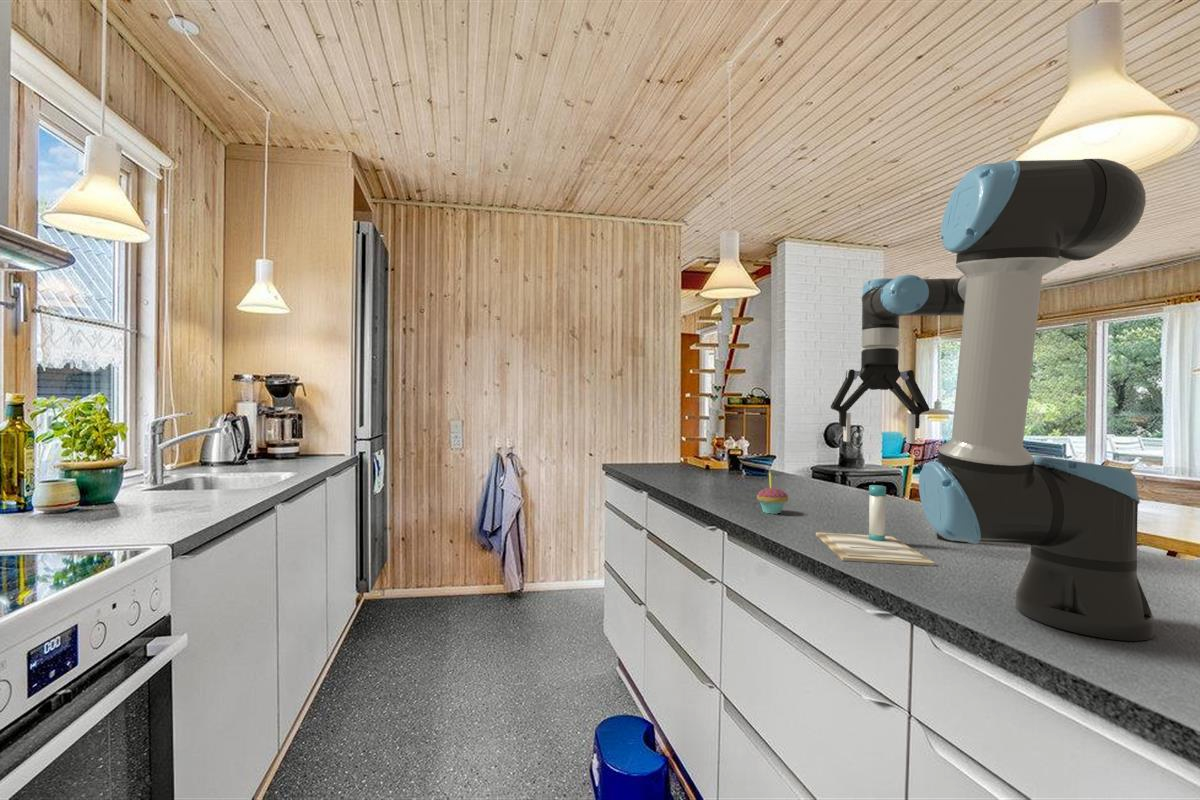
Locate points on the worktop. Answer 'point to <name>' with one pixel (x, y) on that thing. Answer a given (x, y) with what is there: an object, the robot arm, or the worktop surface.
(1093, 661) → the worktop surface
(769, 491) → the cupcake
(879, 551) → the wooden board
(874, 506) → the marker
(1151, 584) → the worktop surface
